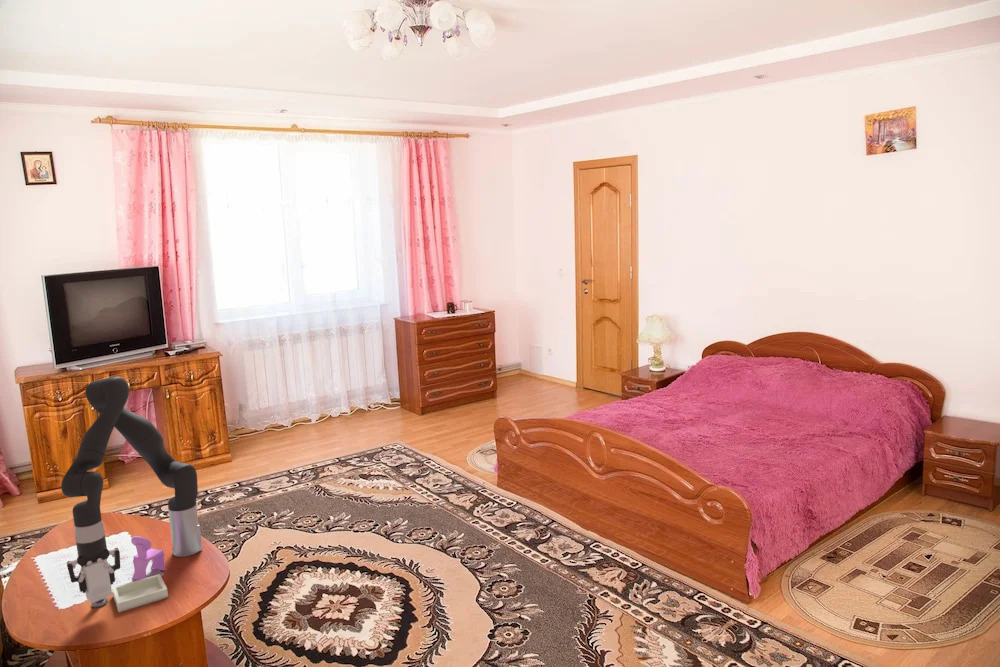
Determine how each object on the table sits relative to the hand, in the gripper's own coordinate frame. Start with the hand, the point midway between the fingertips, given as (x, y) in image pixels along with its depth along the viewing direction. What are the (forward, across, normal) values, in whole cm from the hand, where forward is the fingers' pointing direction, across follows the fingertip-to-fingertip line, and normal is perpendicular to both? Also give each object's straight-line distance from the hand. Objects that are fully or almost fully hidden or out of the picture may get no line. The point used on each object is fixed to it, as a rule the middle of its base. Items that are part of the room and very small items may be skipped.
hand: (97, 587), depth 211 cm
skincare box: (+4, 0, 0) cm, 4 cm away
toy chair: (+10, -16, -19) cm, 27 cm away
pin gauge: (+9, 0, -8) cm, 12 cm away
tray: (+9, -11, -4) cm, 15 cm away
